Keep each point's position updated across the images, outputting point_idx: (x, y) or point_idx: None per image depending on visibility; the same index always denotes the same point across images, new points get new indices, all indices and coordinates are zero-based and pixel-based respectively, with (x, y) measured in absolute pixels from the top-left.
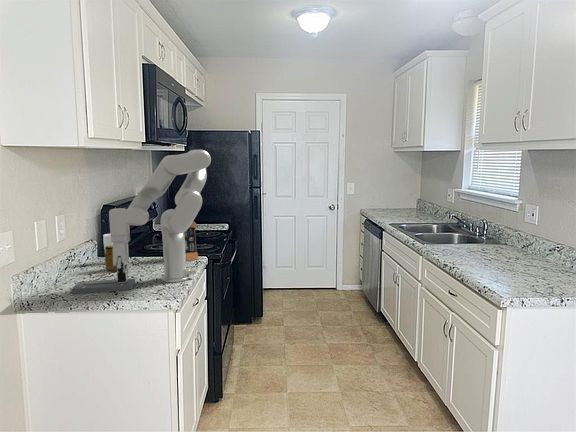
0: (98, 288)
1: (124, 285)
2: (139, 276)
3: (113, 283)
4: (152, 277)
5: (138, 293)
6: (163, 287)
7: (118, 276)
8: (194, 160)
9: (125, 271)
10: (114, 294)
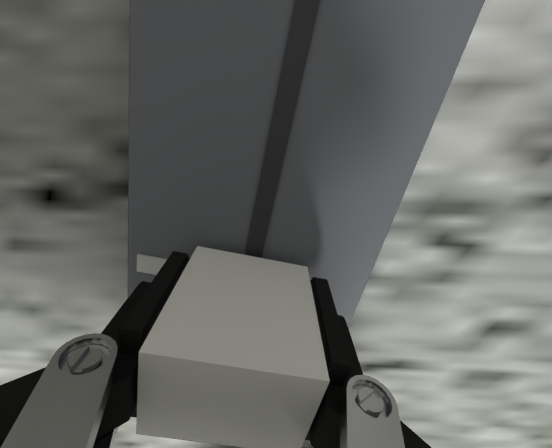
0: (139, 8)
1: (132, 286)
2: (479, 365)
3: (241, 195)
4: None
5: (48, 335)
6: (147, 444)
7: (145, 300)
8: None
9: (150, 426)
10: (46, 180)
